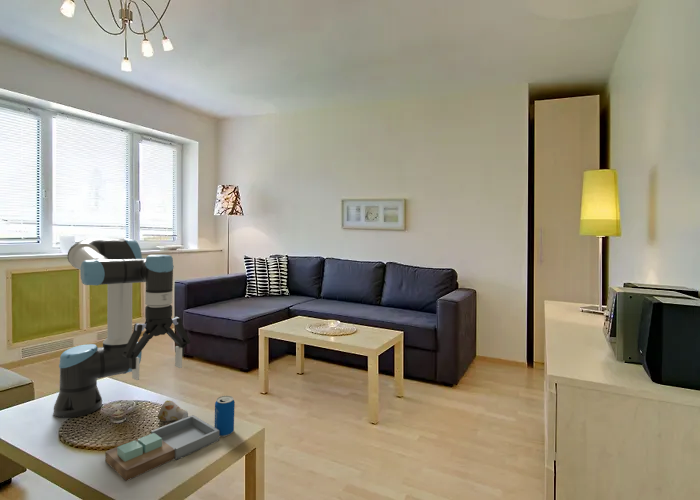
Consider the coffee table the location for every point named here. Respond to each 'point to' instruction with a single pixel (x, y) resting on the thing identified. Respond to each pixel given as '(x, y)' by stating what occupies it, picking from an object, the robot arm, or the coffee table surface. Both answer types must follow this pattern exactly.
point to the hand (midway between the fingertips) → (158, 372)
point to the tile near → (129, 450)
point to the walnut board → (139, 461)
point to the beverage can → (224, 415)
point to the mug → (171, 412)
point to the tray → (187, 435)
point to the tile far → (150, 442)
